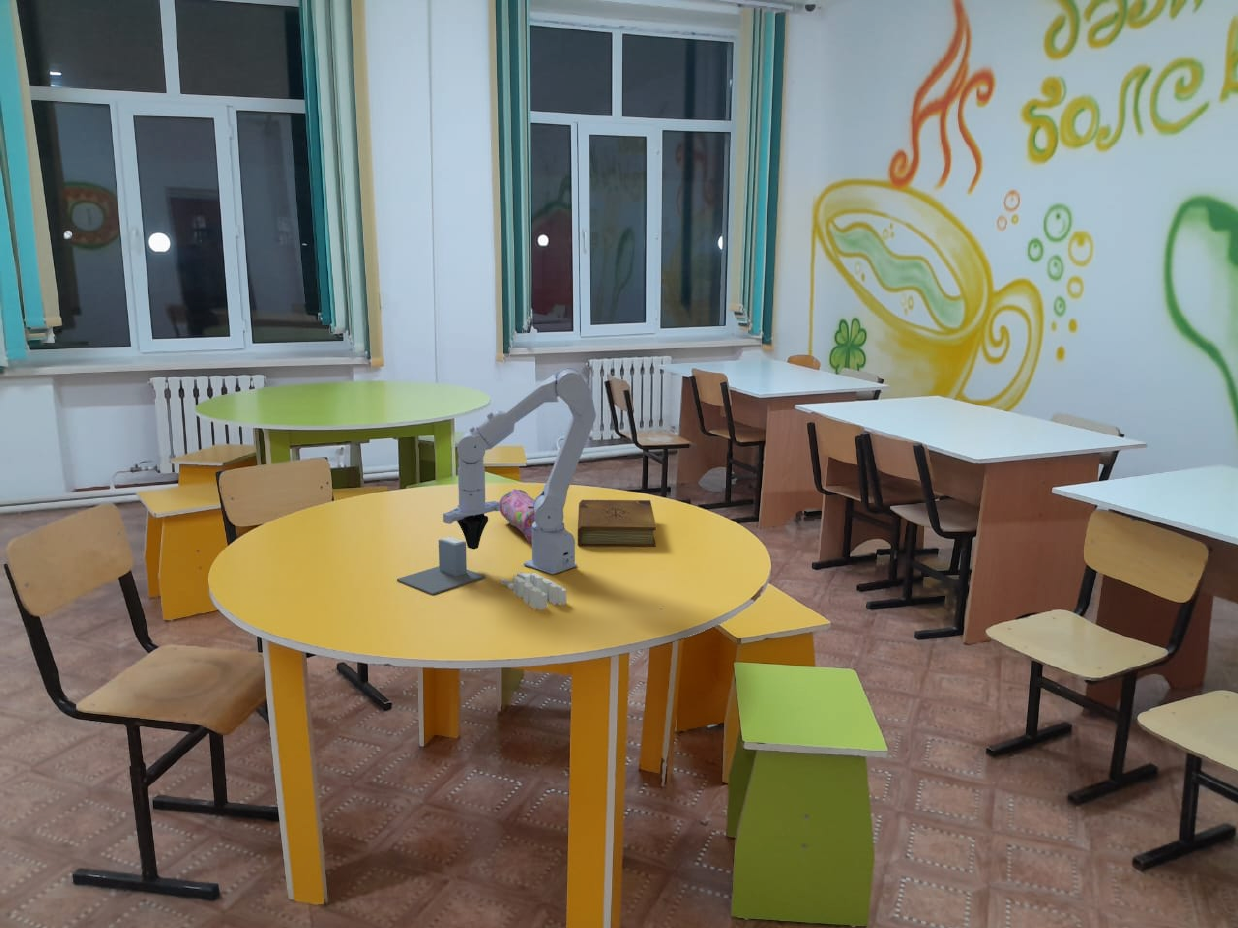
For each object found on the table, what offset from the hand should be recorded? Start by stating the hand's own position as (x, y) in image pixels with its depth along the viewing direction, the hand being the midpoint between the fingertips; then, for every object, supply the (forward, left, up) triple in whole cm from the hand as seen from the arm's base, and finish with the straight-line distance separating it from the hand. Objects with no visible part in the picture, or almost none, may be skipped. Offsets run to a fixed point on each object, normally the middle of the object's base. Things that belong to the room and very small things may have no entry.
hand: (472, 547), depth 199 cm
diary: (-6, -41, -5) cm, 42 cm away
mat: (-1, +10, -4) cm, 11 cm away
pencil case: (+10, -26, -5) cm, 29 cm away
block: (0, +6, -4) cm, 7 cm away
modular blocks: (-21, +2, -5) cm, 21 cm away
